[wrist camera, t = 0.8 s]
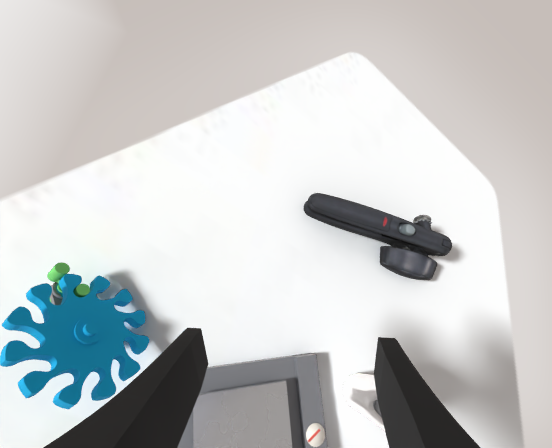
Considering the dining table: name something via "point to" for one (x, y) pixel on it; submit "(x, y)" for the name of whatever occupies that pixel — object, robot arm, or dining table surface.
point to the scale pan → (243, 417)
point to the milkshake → (363, 397)
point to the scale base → (300, 391)
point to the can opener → (385, 234)
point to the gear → (75, 336)
